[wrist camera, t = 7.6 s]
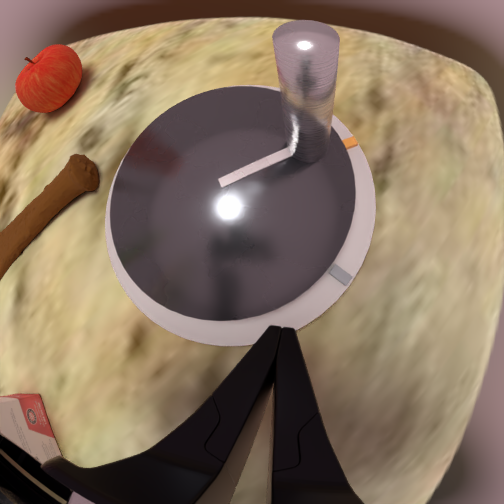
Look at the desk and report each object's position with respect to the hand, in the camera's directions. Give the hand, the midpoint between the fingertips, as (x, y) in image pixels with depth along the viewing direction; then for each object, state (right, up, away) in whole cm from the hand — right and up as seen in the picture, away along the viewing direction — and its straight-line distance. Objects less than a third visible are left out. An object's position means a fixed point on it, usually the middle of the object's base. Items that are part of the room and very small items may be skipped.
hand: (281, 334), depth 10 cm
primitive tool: (-22, +4, +13) cm, 26 cm away
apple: (-22, +21, +15) cm, 34 cm away
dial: (-3, +6, +8) cm, 10 cm away
